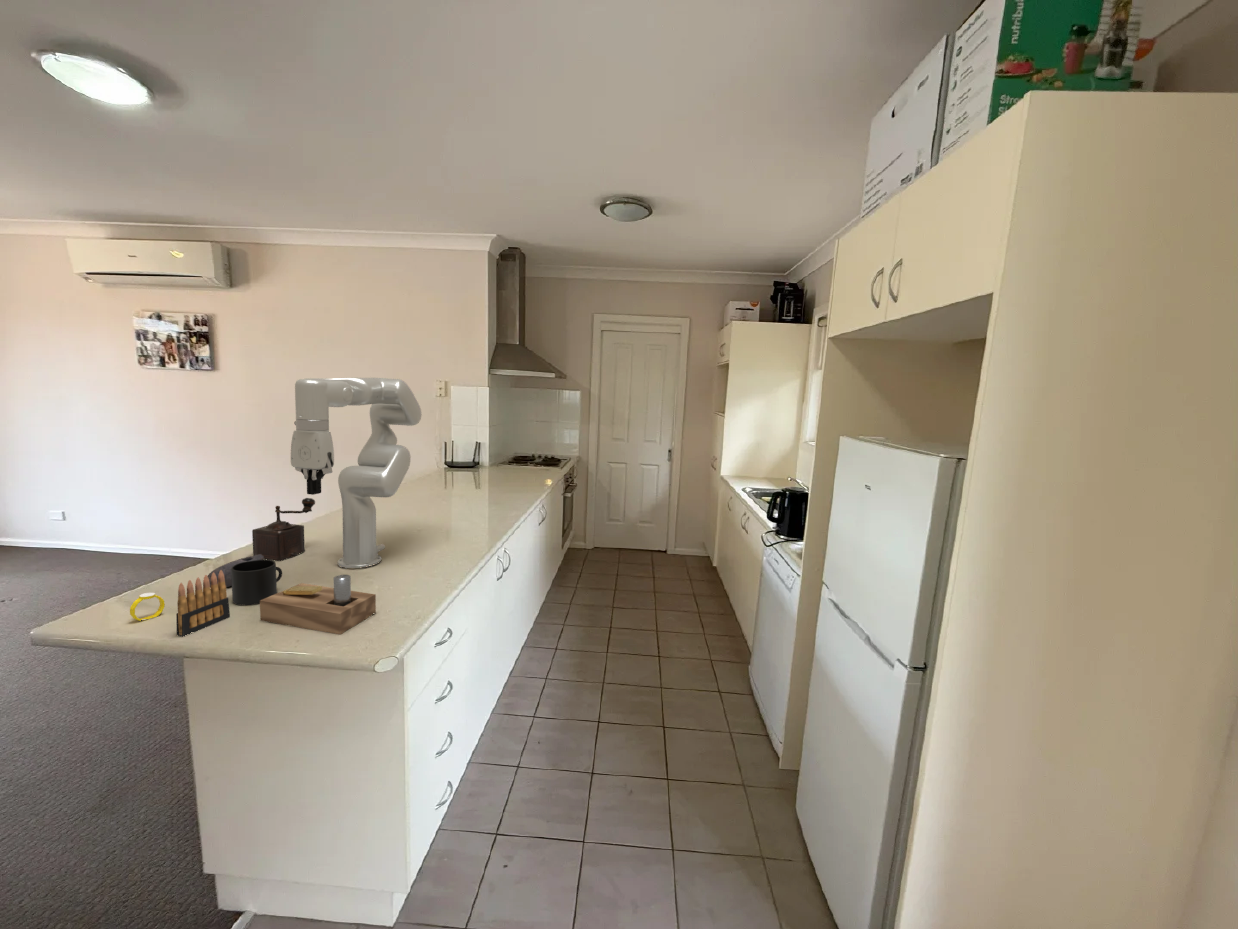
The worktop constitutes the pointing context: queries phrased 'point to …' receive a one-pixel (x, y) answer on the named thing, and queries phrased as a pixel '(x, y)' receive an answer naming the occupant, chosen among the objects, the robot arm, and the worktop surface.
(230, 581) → the perforated stone tool
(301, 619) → the walnut block
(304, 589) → the bar
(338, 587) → the steel pin
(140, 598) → the yellow ring
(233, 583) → the mug
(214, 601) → the ammunition clip
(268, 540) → the manual coffee grinder
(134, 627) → the worktop surface
